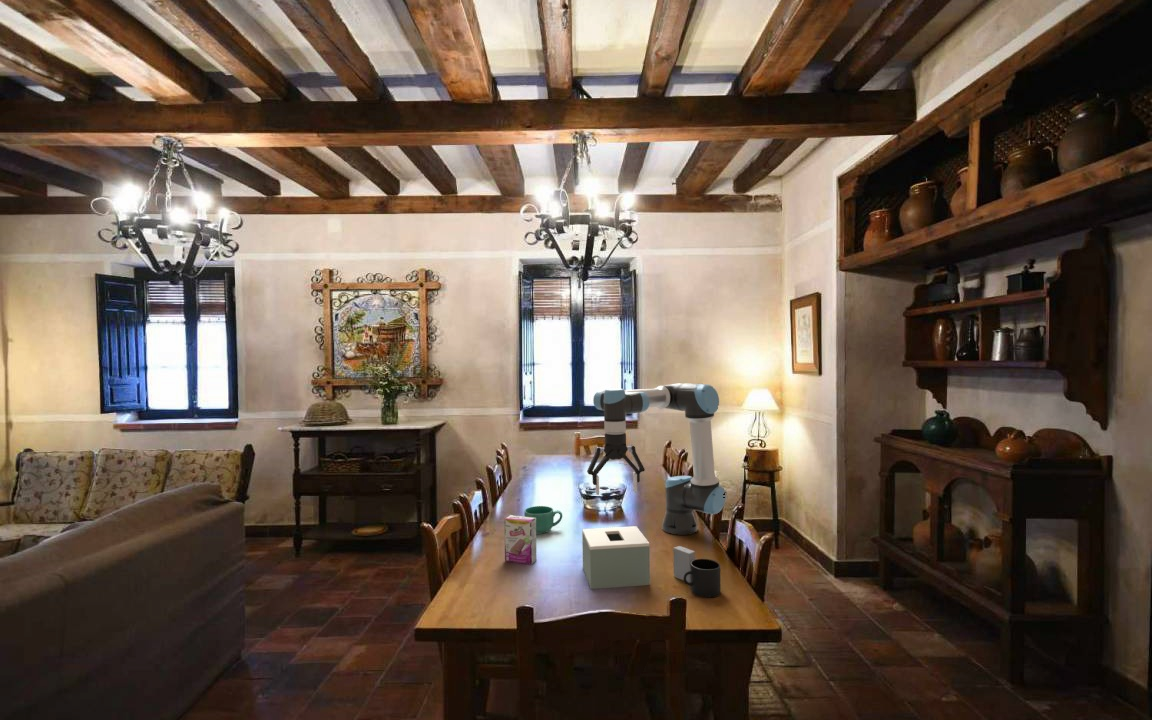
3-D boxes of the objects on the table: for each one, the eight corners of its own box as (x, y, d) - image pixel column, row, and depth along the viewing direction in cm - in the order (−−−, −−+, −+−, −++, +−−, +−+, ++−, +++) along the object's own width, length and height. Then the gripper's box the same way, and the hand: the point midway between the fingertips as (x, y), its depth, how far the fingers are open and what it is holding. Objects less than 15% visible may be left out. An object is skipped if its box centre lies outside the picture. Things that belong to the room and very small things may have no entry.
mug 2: (679, 587, 179) (678, 559, 179) (714, 584, 181) (714, 557, 181) (688, 599, 170) (688, 571, 170) (725, 597, 171) (724, 568, 171)
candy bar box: (504, 562, 203) (503, 518, 203) (510, 557, 208) (509, 514, 207) (531, 565, 199) (531, 521, 199) (537, 560, 204) (536, 517, 204)
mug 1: (523, 536, 231) (522, 514, 231) (526, 526, 244) (526, 505, 244) (561, 536, 231) (561, 513, 231) (563, 526, 244) (562, 505, 244)
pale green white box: (636, 564, 199) (636, 526, 199) (649, 584, 181) (649, 543, 181) (582, 567, 196) (582, 529, 196) (590, 589, 179) (590, 546, 178)
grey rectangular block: (679, 574, 190) (679, 545, 190) (695, 580, 184) (695, 551, 184) (673, 576, 188) (673, 547, 188) (689, 583, 182) (689, 553, 182)
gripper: (646, 429, 196) (647, 487, 197) (578, 432, 193) (579, 492, 193) (652, 432, 189) (653, 493, 189) (581, 435, 185) (583, 497, 186)
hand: (616, 492), depth 191 cm, fingers open, 13 cm apart
